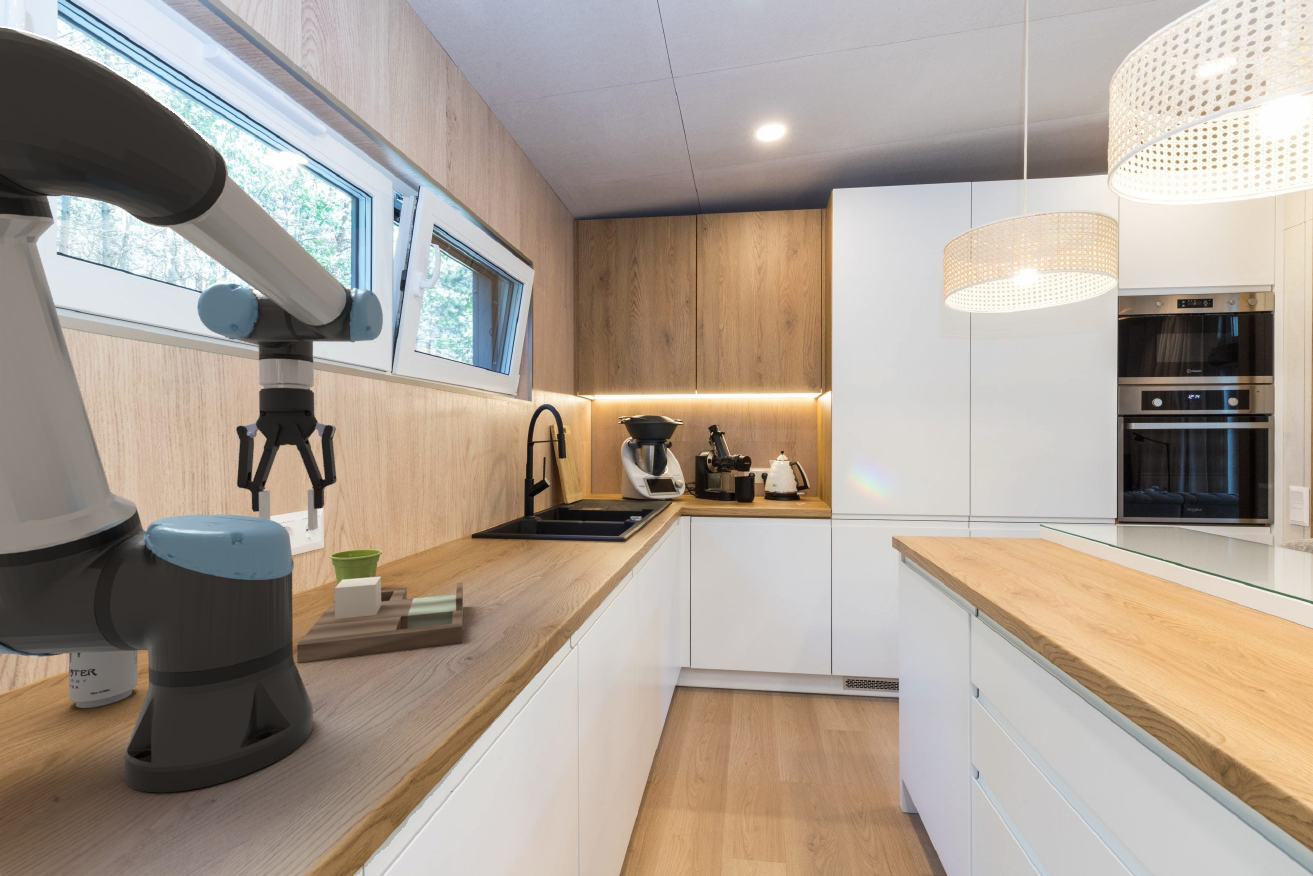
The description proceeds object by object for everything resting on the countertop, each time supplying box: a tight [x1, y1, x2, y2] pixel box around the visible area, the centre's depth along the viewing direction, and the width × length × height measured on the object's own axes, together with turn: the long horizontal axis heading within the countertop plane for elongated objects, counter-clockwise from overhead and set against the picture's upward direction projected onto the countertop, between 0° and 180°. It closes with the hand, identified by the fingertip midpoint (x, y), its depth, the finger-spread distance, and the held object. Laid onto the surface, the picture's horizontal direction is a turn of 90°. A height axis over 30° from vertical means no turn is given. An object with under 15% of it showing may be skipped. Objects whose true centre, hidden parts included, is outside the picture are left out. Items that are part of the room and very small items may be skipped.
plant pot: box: [329, 548, 383, 586], centre depth 115 cm, size 9×9×9 cm
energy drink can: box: [68, 650, 139, 709], centre depth 70 cm, size 6×6×15 cm
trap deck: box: [296, 582, 464, 664], centre depth 97 cm, size 29×22×4 cm
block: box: [334, 576, 382, 619], centre depth 96 cm, size 6×6×5 cm
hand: (289, 530), depth 93 cm, fingers open, 6 cm apart
